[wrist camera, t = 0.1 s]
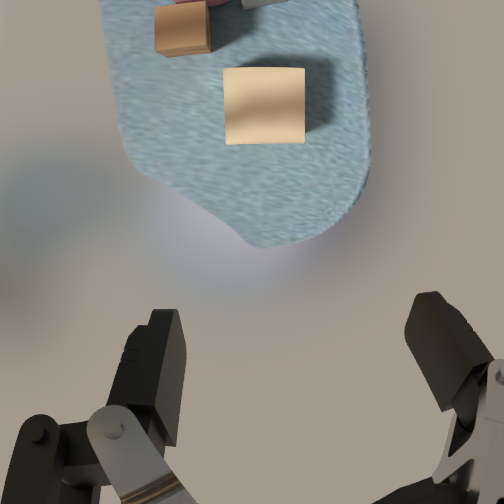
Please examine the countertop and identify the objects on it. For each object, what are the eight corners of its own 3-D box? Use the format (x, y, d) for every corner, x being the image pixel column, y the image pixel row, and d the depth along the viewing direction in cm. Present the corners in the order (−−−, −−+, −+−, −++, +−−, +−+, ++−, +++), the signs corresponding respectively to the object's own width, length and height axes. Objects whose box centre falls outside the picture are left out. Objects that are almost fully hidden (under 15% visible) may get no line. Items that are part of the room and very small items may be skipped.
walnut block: (167, 20, 26) (154, 7, 21) (210, 15, 27) (205, 0, 21) (168, 57, 29) (155, 51, 24) (211, 53, 29) (206, 44, 24)
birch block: (225, 72, 30) (223, 68, 26) (295, 71, 30) (304, 68, 26) (227, 138, 34) (226, 144, 30) (295, 136, 34) (304, 143, 30)
